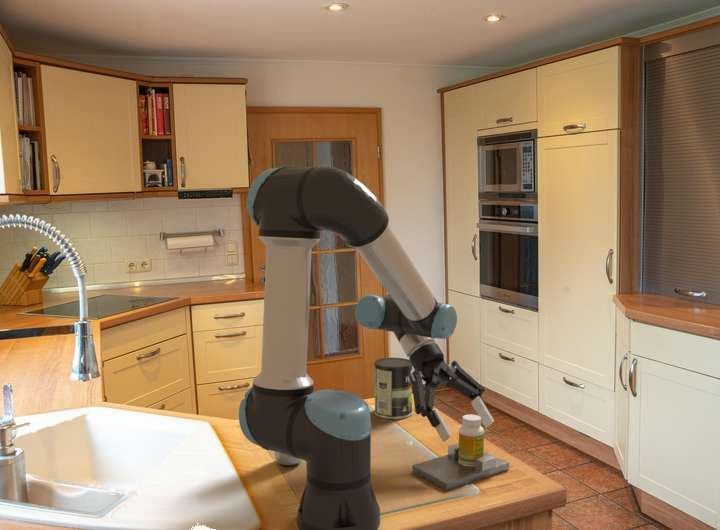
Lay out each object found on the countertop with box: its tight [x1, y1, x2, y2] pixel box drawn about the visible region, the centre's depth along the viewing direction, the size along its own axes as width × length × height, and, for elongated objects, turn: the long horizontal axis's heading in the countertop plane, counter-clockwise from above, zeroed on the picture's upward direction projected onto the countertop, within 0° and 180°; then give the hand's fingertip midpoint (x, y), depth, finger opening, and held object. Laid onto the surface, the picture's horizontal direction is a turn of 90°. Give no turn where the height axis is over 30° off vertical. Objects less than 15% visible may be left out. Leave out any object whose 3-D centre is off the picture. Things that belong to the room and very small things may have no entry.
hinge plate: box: [411, 442, 510, 491], centre depth 147 cm, size 18×11×4 cm, turn 125°
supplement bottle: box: [458, 413, 485, 465], centre depth 149 cm, size 5×5×10 cm
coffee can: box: [373, 357, 413, 420], centre depth 184 cm, size 10×10×14 cm
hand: (469, 431), depth 149 cm, fingers open, 13 cm apart
